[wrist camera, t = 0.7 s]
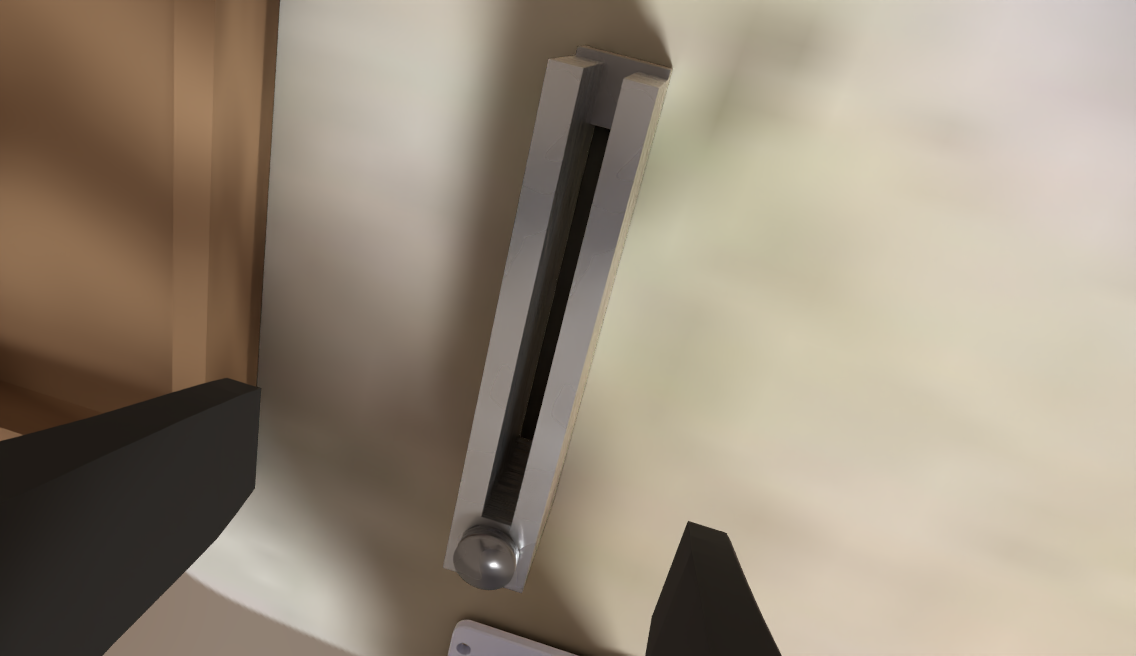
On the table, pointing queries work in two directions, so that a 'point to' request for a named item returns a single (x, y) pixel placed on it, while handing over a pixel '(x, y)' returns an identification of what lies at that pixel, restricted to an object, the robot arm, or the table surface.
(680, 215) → the table surface
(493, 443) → the slotted metal channel
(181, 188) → the wooden tray
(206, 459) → the robot arm
